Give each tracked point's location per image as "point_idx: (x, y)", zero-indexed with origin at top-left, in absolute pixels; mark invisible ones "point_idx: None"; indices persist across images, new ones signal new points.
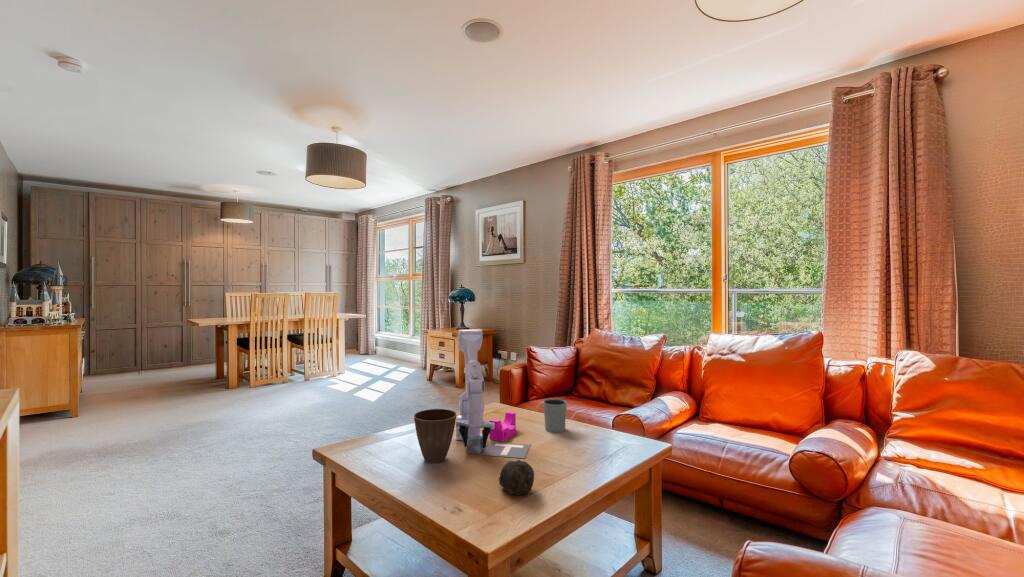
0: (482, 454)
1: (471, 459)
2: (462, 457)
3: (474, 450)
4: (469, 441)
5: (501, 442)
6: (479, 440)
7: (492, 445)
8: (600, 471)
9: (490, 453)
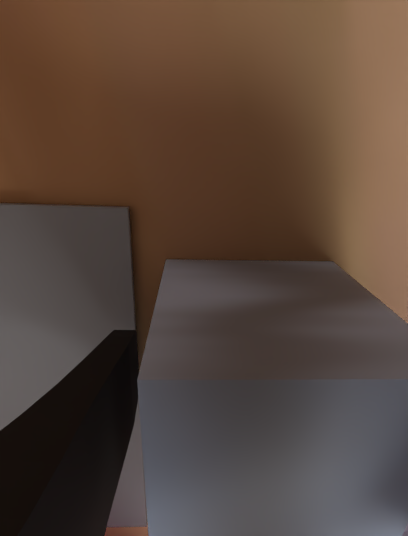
0: (112, 213)
1: (225, 4)
2: (376, 70)
3: (240, 272)
4: (379, 348)
5: None
6: (148, 373)
7: None
8: None
9: (23, 266)
